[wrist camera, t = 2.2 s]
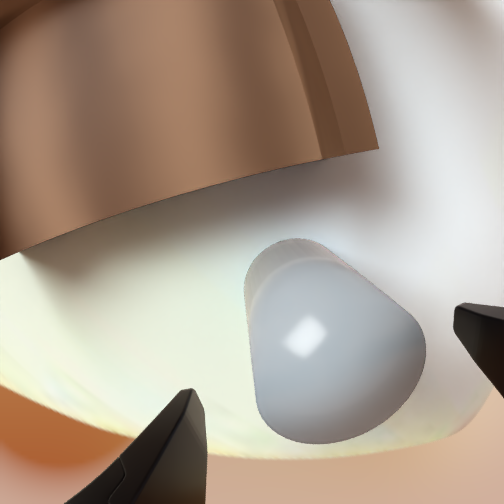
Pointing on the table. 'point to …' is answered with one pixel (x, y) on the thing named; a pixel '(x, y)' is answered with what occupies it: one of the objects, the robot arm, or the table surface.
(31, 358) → the table surface
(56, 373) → the table surface
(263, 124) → the wooden tray
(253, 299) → the grey rounded cone
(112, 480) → the robot arm
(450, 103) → the table surface
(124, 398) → the table surface
